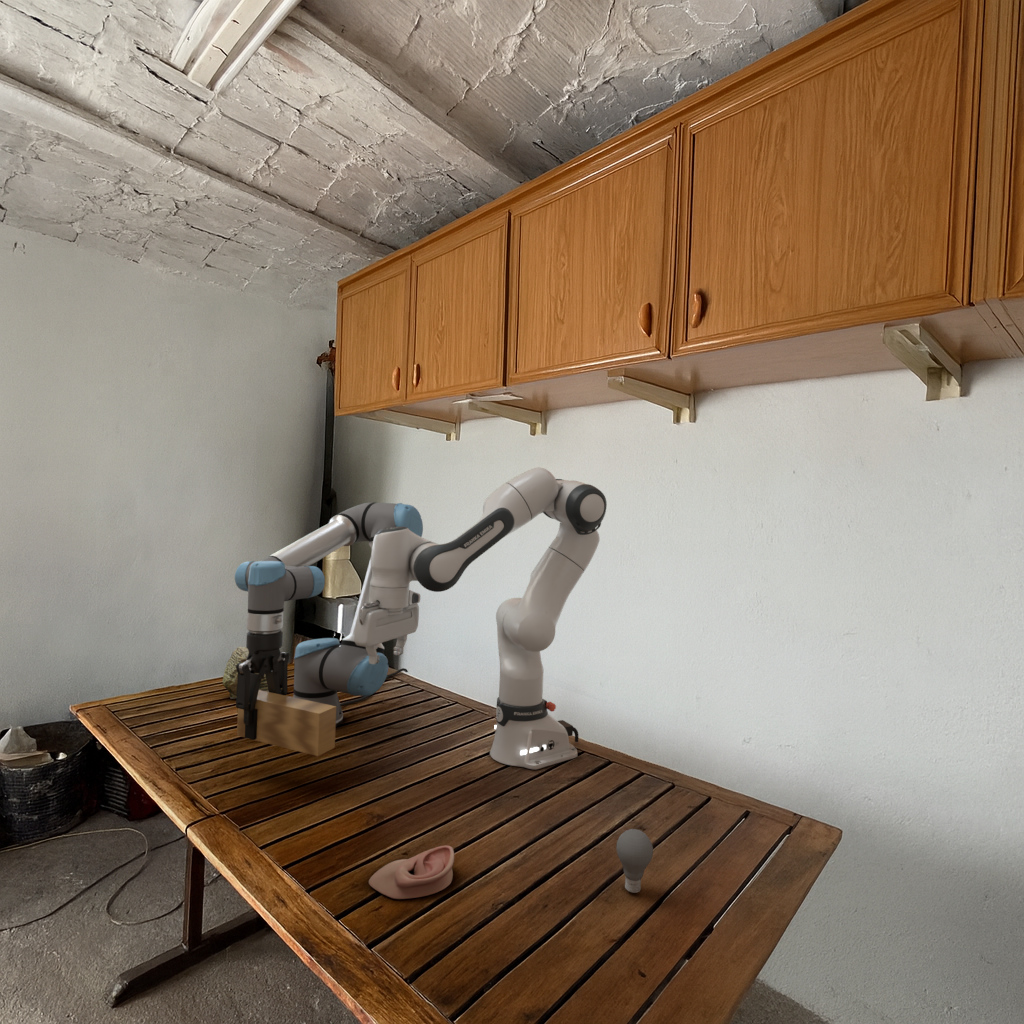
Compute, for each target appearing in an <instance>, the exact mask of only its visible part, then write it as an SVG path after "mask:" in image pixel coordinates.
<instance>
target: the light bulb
mask: <svg viewBox="0 0 1024 1024" xmlns="http://www.w3.org/2000/svg"><path fill="white" fill-rule="evenodd" d="M615 849H616V854H617V857H618V859H619V861H620V863H621V865H622V867H623V873H624V874H623V875H624V876H625V878H624V888H625V890H627V891H628V892H630V893H634V894H635V893H639V892H640V891H641V889H642V887H641V886H642V879H643V877H644V875H645V871H646V868H647V867H648V866H649V864H650V863H651V861H652V859H653V855H654V847H653V843H652V841H651V838H649V836H648V835H647V834H646V833H645V832H643V831H642V830H641V829H636V828H629V829H627V830H625V831H623V832H622V833H621V834H620V835H619V837H618V839H617V841H616V847H615Z"/></svg>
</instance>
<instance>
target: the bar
mask: <svg viewBox="0 0 1024 1024" xmlns="http://www.w3.org/2000/svg"><path fill="white" fill-rule="evenodd" d="M249 704H250V703H249ZM254 709H258V712H257V739H255V740H253V739H251V741H256V742H259V743H260V742H261V743H264V744H268V745H271V746H276V747H279V748H283V749H288V750H291V751H295V752H299V753H304V754H307V755H311V756H314V757H319V756H321V755H323V754H325V753H327V752H329V751H331V750H333V749H335V748H336V728H337V727H336V706H332V705H328V704H323V703H318V702H313V701H309V700H304V699H299V698H295V697H293V696H289V695H281V694H276V693H271V692H266V691H262V690H259V692H258V696H257V700H256V704H255V708H254ZM243 721H244V710H243V709H239V708H237V722H236V723H237V724H236V736H237V737H241V738H245V724H244V722H243ZM245 739H246V738H245ZM247 739H248V740H250V739H249V738H247Z"/></svg>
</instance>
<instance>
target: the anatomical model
mask: <svg viewBox="0 0 1024 1024" xmlns="http://www.w3.org/2000/svg"><path fill="white" fill-rule="evenodd" d="M454 863H455V850H454V848H453V847H452V846H451V845H447V844H445V845H439V846H436V847H433V848H430V849H427V850H425V851H423V852H420V853H417V854H415V855H414V856H412V857H409V858H403V859H401V858H400V859H396V860H394V861H390V862H389V863H387V864H385V865H384V866H382V867H381V868H379V869H378V870H377V871H376V872H374V873H373V875H371V877H370V878H369V880H368V885H369V886H370V887H371V888H372V889H373V890H375V891H377V892H378V893H380V894H381V895H384V896H386V897H389V898H391V899H394V900H406V899H414V898H422V897H426V896H430V895H434V894H436V893H438V892H439V893H440V891H443V890H445V889H446V888H447V887H449V886H450V885H451V883H452V881H453V876H454V873H453V866H454Z"/></svg>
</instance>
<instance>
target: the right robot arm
mask: <svg viewBox="0 0 1024 1024" xmlns="http://www.w3.org/2000/svg"><path fill="white" fill-rule="evenodd" d="M606 512H607V498H606V495H605V493H604V492H602V491H601V490H600V489H599V488H598V487H596V486H594V485H592V484H589V483H585V482H581V481H578V480H570V479H569V480H567V479H562V478H556V477H555V475H553V474H552V472H550V470H548V469H547V468H545V467H540V466H539V467H538V466H537V467H534V468H531V469H528V470H526V471H524V472H522V473H520V474H518V475H516V476H514V477H513V478H511V479H509V480H508V481H506V482H505V483H503V484H501V485H500V486H499V487H497V488H496V489H495V490H494V491H492V493H490V494H489V495H488V497H487V498H486V499H484V502H483V505H482V515H481V517H480V519H479V520H478V521H477V522H476V523H474V524H473V525H471V526H470V527H469V528H468V529H466V530H465V531H463V532H462V533H461V534H459V535H458V536H457V537H455V538H454V539H453V540H451V541H449V542H446V543H440V544H439V543H436V542H434V541H431V540H429V539H427V538H424V537H423V536H422V537H420V536H418V535H416V534H415V533H413V532H412V531H410V530H409V529H408V528H407V527H390V528H385V529H382V530H380V531H378V532H377V533H376V535H375V536H374V540H373V545H372V549H371V554H370V558H371V569H372V578H371V581H370V593H369V603H365V604H364V605H363V607H362V608H361V609H360V611H359V614H358V616H357V621H356V627H355V636H354V641H355V643H356V645H358V646H363V647H366V650H367V653H368V655H369V663H370V664H377V663H379V658H380V655H377V652H376V649H377V648H378V644H379V643H382V644H383V643H385V642H388V641H389V642H390V641H392V640H395V639H396V643H395V646H393V652H392V654H393V655H394V656H402V655H403V654H404V648H405V645H406V643H407V641H408V635H410V634H411V635H412V634H414V633H416V631H418V628H419V619H420V607H419V606H420V605H419V603H420V602H421V594H420V593H418V592H416V591H413V590H411V589H410V584H411V582H418V583H419V585H420V586H422V587H423V588H424V589H425V590H428V591H430V592H434V593H439V592H446V591H448V590H450V589H451V588H453V587H454V586H455V585H456V584H457V583H458V581H459V580H460V579H461V578H462V575H463V574H464V572H465V571H466V569H467V568H468V567H469V566H470V565H471V564H472V563H473V562H474V561H476V560H477V559H478V558H480V556H482V555H483V554H484V553H486V552H487V551H489V549H491V548H492V547H493V546H495V545H496V544H497V543H499V542H500V541H501V540H502V539H504V538H505V537H507V536H509V535H510V534H511V533H514V532H515V531H517V530H519V529H520V528H522V527H523V526H525V525H526V524H528V523H529V522H531V521H532V520H534V519H535V518H537V517H538V516H539V515H540V514H544V515H545V516H546V517H548V518H549V519H552V520H555V521H557V522H558V523H559V525H558V526H559V528H558V531H557V533H556V536H555V538H554V539H553V540H552V542H551V543H550V544H549V546H548V548H546V550H545V552H544V553H543V555H542V556H541V558H540V559H539V561H538V562H537V564H536V565H535V567H534V569H532V571H531V573H530V578H529V582H528V584H527V586H526V589H525V591H524V594H523V596H522V597H511V598H508V599H505V600H504V601H502V602H500V604H499V606H498V607H497V609H496V613H495V619H496V620H495V621H496V629H497V630H496V633H497V649H498V659H499V661H498V662H499V681H498V682H499V683H498V697H497V698H496V707H495V708H496V709H495V721H496V724H494V725H493V726H494V728H493V729H494V730H495V731H494V736H493V741H492V745H491V748H490V750H489V756H490V758H491V759H493V760H494V761H496V762H498V763H500V764H504V765H507V766H511V767H521V768H526V769H529V770H539V769H543V768H546V767H549V766H552V765H555V764H559V763H563V762H566V761H570V760H572V759H576V758H578V757H579V755H578V750H577V748H576V747H575V746H574V745H573V744H572V743H571V742H570V737H572V736H573V735H574V742H575V743H578V742H579V732H578V731H579V730H578V729H577V728H576V727H574V726H573V724H571V723H569V722H567V721H565V720H563V719H561V720H556V719H555V718H554V717H553V716H552V715H551V714H550V713H549V711H550V712H554V711H556V709H557V705H556V703H554V702H552V701H547V700H546V699H544V698H543V696H544V695H543V694H544V692H543V691H544V666H543V661H542V656H541V652H542V651H544V650H546V649H548V648H549V647H550V646H551V645H552V643H553V641H554V639H555V637H556V628H557V625H558V622H559V620H560V617H561V615H562V611H563V609H564V607H565V604H566V602H567V600H568V599H569V597H570V595H571V593H572V591H573V590H574V588H575V587H576V585H577V584H578V582H579V581H580V579H581V578H582V576H583V574H584V573H585V571H586V570H587V568H588V567H589V564H591V561H592V559H593V558H594V556H595V553H596V551H597V549H598V547H599V544H600V537H601V536H600V534H599V532H598V530H599V529H600V528H601V526H602V522H603V520H604V518H605V516H606Z"/></svg>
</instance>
